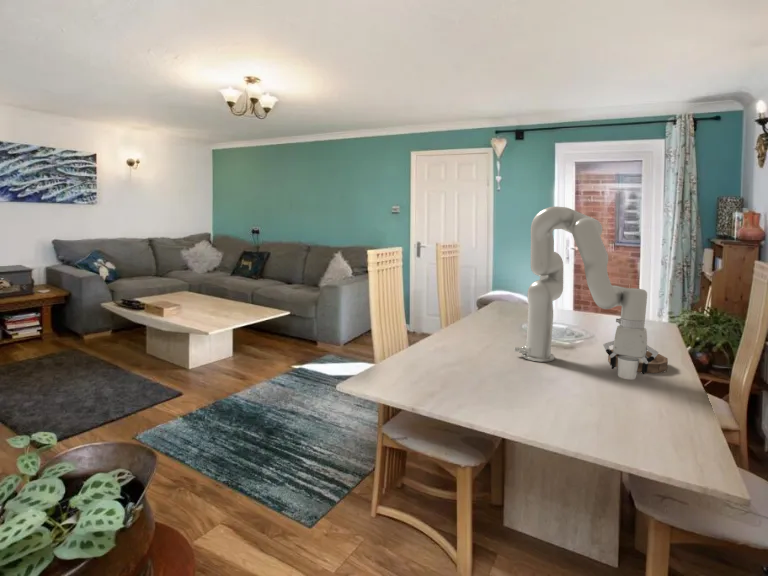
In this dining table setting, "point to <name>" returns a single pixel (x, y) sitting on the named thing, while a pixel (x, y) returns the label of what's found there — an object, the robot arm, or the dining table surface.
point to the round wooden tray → (653, 367)
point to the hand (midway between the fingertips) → (628, 370)
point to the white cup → (627, 367)
